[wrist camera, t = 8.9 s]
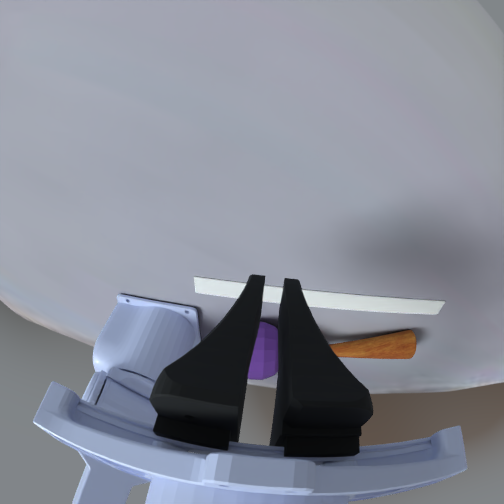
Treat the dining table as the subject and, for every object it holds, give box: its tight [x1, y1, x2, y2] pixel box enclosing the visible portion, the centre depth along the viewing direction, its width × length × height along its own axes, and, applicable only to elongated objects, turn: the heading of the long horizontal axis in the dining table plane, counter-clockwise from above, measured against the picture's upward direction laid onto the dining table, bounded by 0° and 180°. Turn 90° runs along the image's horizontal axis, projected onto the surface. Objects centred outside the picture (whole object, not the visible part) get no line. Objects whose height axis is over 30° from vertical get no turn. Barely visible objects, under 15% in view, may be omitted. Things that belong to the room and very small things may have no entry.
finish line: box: [194, 276, 445, 315], centre depth 26 cm, size 26×2×1 cm, turn 87°
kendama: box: [248, 322, 416, 380], centre depth 27 cm, size 6×6×20 cm
